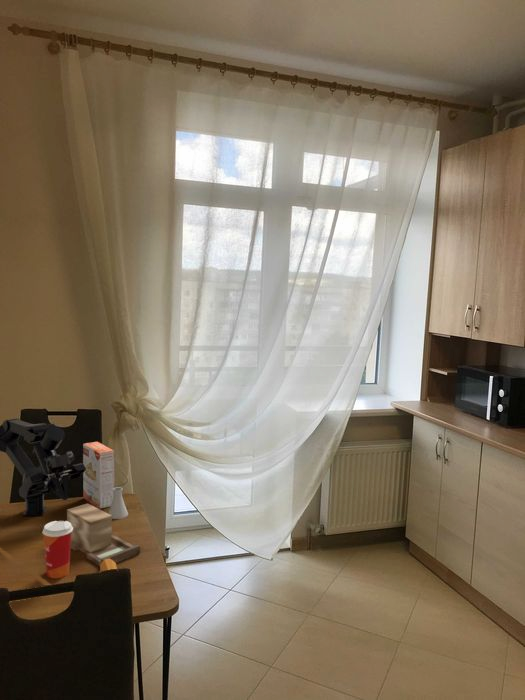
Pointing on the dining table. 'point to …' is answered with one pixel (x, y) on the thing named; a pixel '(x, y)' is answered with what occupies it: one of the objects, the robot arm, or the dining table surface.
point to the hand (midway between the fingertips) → (65, 499)
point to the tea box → (90, 527)
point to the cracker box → (98, 474)
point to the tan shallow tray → (110, 551)
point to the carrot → (107, 565)
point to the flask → (118, 505)
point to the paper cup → (57, 548)
